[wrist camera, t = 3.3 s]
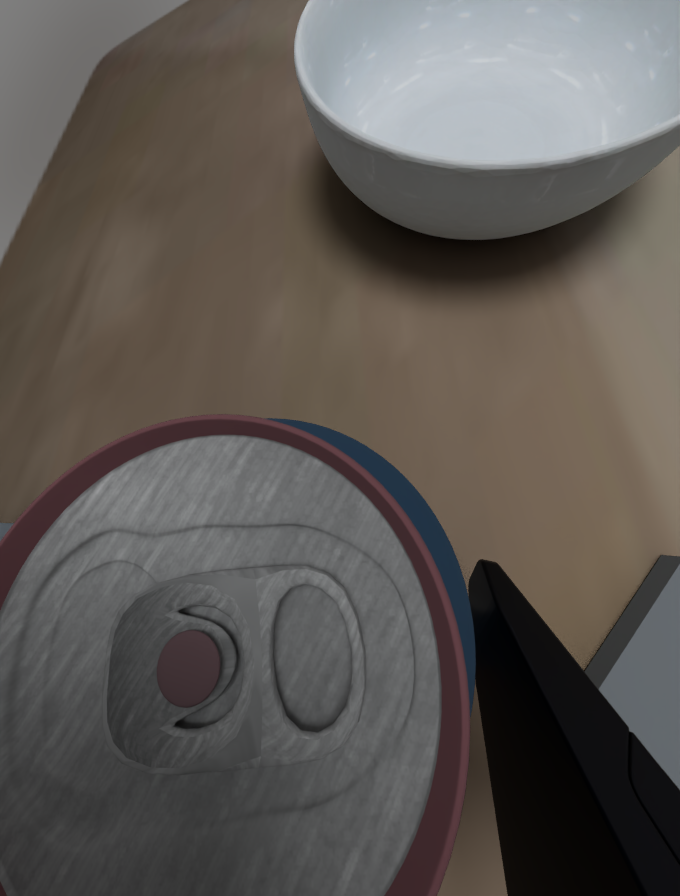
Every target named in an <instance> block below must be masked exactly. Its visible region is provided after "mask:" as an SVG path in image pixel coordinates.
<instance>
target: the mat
mask: <svg viewBox="0 0 680 896" xmlns="http://www.w3.org/2000/svg"><path fill="white" fill-rule="evenodd" d="M585 673H586V674H587V675H588V677H589V678H590V679H591V680H592V682H593V683H594V684H595V685H596V687H597V688H598V689H599V690H600V692H601V693H602V694H603V695H604V697H605V698H606V699H607V700H608V702H609V703H610V704H611V705H612V707H613V708H614V709H615V710H616V712H617V713H618V714H619V715H620V717H621V718H622V719H623V720H624V722H625V723H626V724H627V725H628V727H629V732H633V733H634V734H635V735H636V736H637V738H638V739H639V740H640V741H641V743H642V744H643V745H644V746H645V748H646V749H647V750H648V751H649V753H650V754H651V755H652V756H653V758H654V759H655V760H656V761H657V763H658V764H659V765H660V766H661V767H662V769H663V770H664V771H665V772H666V773H667V775H668V776H669V777H670V778H671V780H672V781H673V782H674V783H675V784H676V786H677V787H678V788H679V789H680V557H678V556H667V555H661V556H660V558H659V559H658V561H657V562H656V564H655V565H654V567H653V569H652V570H651V572H650V573H649V575H648V576H647V578H646V579H645V581H644V582H643V584H642V585H641V587H640V588H639V590H638V591H637V593H636V594H635V596H634V597H633V599H632V600H631V602H630V603H629V605H628V606H627V608H626V609H625V611H624V612H623V614H622V615H621V617H620V619H619V620H618V622H617V623H616V625H615V626H614V628H613V629H612V631H611V632H610V634H609V635H608V637H607V638H606V640H605V641H604V643H603V644H602V646H601V647H600V649H599V650H598V652H597V653H596V655H595V656H594V658H593V659H592V661H591V662H590V664H589V665H588V667H587V668H586V670H585Z"/></svg>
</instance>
